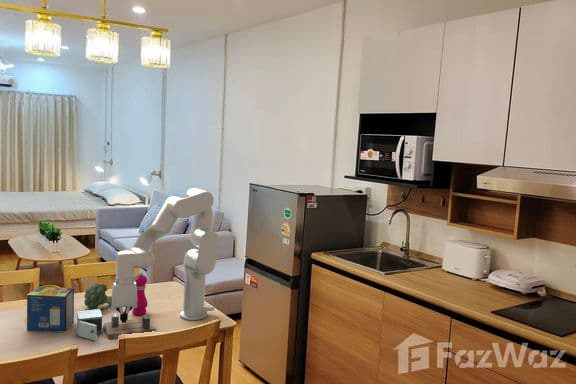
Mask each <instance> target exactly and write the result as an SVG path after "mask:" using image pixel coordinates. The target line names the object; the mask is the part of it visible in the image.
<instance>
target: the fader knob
mask: <svg viewBox="0 0 576 384" xmlns="http://www.w3.org/2000/svg"><path fill="white" fill-rule="evenodd" d="M118 313H119V312H117V313H112V314H111V321H110V322H111V324H112V327H119V321H120V315H119V314H118Z"/></svg>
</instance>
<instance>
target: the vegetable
mask: <svg viewBox="0 0 576 384" xmlns="http://www.w3.org/2000/svg"><path fill="white" fill-rule="evenodd" d="M108 289H109V288H108V287H107V285H106V284H104V283H95V284H92V285H91V286H90V287H88V288H87V289H86V290H85V292H84V293H85V294H84V300H83V301H84V305H85V306H86V307H87V308H91V309H92V310H95V309H98V307H100V306H103V305H105V304H108V305H112V304H111V297H112V295H107V294H106V292H107V291H108Z"/></svg>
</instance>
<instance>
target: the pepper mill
mask: <svg viewBox="0 0 576 384" xmlns="http://www.w3.org/2000/svg"><path fill="white" fill-rule="evenodd" d="M135 276H136V277H138V280H135V282H136V287H137V307H136V308H133V309H131V311H132V313H131V314H132V315H133V316H136V317H141V316H144V315H147V308H148V303H149V302H148V299H147V297H146V294H145V290H146V289H147V288H146V284H147V283H148V278H147V276H146V275H145V274H143V272H142V271H139V272H138V274H137V275H135Z"/></svg>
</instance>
